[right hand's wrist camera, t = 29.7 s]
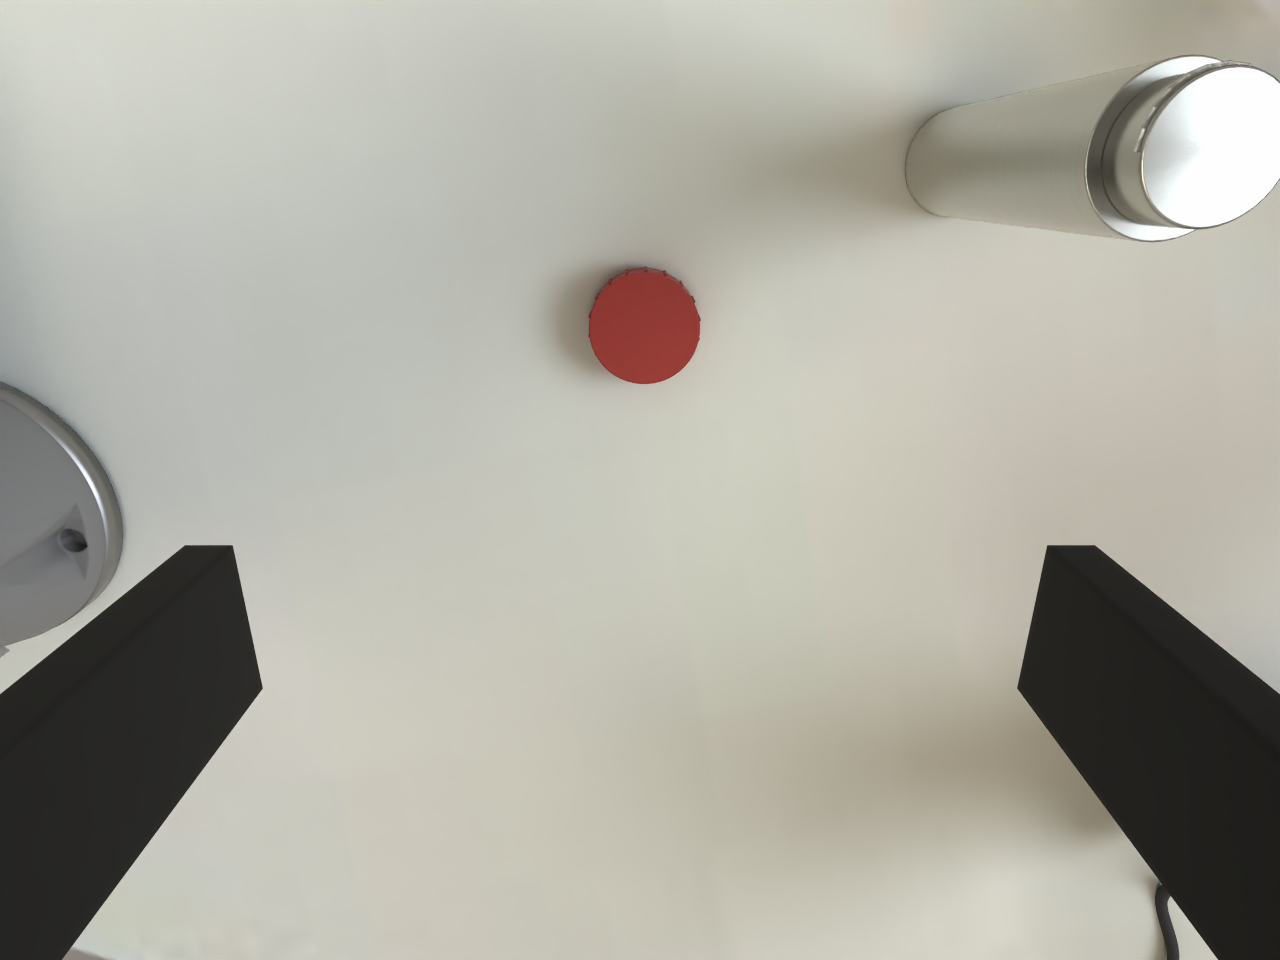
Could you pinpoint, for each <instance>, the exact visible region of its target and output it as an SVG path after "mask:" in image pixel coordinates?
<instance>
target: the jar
mask: <svg viewBox="0 0 1280 960" xmlns="http://www.w3.org/2000/svg"><path fill="white" fill-rule="evenodd" d="M905 173H906V181H907V185H908V188H909V191H910V193H911V195H912V197H913V198H914V199H915V201H916V202H917V203H918V204H919V205H920V206H921V207H922V208H923V209H925V210H926V211H928V212H930V213H932V214H934V215H937V216H942V217H949V218H957V219H965V220H973V221H981V222H989V223H997V224H1005V225H1013V226H1021V227H1029V228H1037V229H1045V230H1053V231H1061V232H1069V233H1077V234H1085V235H1093V236H1101V237H1109V238H1117V239H1125V240H1133V241H1141V242H1160V241H1166V240H1171V239H1175V238H1178V237H1181V236H1184V235H1187V234H1189V233H1191V232H1193V231H1195V230H1200V229H1209V228H1214V227H1218V226H1221V225H1224V224H1227V223H1229V222H1231V221H1233V220H1235V219H1237V218H1239V217H1241V216H1242V215H1244V214H1246V213H1247V212H1249V211H1250V210H1251V209H1253V208H1254V207H1255V206H1256V205H1258V204H1259V203H1260V202H1261V201H1262V200H1263V199H1264V198H1265V197H1266V196H1267V195H1268V194H1269V192H1270V191H1271V190H1272V189H1273V188H1274V186H1275V185H1276V183H1277V182H1278V181H1279V179H1280V82H1279V81H1278V80H1277V79H1276V78H1275V77H1274V76H1272V75H1271V74H1269V73H1268V72H1266V71H1264V70H1262V69H1259V68H1257V67H1254V66H1252V65H1250V63H1242V62H1234V61H1231V60H1230V61H1221V60H1219V59H1216V58H1213V57H1208V56H1204V55H1185V56H1178V57H1173V58H1169V59H1165V60H1160V61H1156V62H1152V63H1147V64H1143V65H1138V66H1134V67H1130V68H1125V69H1121V70H1116V71H1112V72H1108V73H1103V74H1099V75H1094V76H1090V77H1086V78H1081V79H1077V80H1072V81H1068V82H1064V83H1059V84H1055V85H1050V86H1046V87H1042V88H1037V89H1033V90H1029V91H1024V92H1020V93H1015V94H1011V95H1007V96H1002V97H998V98H993V99H989V100H985V101H980V102H976V103H971V104H967V105H963V106H958V107H954V108H950V109H947V110H944V111H942V112H940V113H938V114H937V115H935V116H934V117H932V118H931V119H930V120H929V121H927V122H926V123H925V124H924V125H923V126H922V128H921V129H920V130H919V131H918V133H917V134H916V136H915V137H914V139H913V141H912V143H911V145H910V148H909V151H908V154H907V158H906V167H905Z"/></svg>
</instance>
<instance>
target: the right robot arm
mask: <svg viewBox="0 0 1280 960" xmlns="http://www.w3.org/2000/svg"><path fill="white" fill-rule="evenodd" d="M122 539H123V532H122V520H121V513H120V509H119V505H118V501H117V498H116V495H115V492H114V490H113V487H112V485H111V483H110V481H109V478H108V476H107V474H106V473H105V471H104V469H103V467H102V466H101V464H100V462H99V461H98V459H97V458H96V457H95V455H94V454H93V452H92V451H91V449H90V448H89V447H88V446H87V445H86V443H85V442H84V441H83V440H82V439H81V437H80V436H79V435H78V434H77V433H76V432H75V431H74V430H73V429H72V428H71V427H70V426H69V425H68V424H67V423H65V422H64V421H63V420H62V419H61V418H60V417H59V416H57V415H56V414H55V413H53V412H52V411H51V410H50V409H48V408H47V407H46V406H44V405H43V404H41V403H40V402H38V401H36V400H35V399H33V398H32V397H30V396H28V395H26V394H25V393H23V392H21V391H19V390H17V389H15V388H13V387H11V386H9V385H6V384H4V383H2V382H0V657H2V656H3V655H4V654H6V653H7V652H8V651H10V650H9V649H7V648H5V647H4V646H7V645H10V644H13V643H16V642H19V641H22V640H25V639H29V638H32V637H34V636H37V635H40V634H42V633H44V632H46V631H48V630H50V629H52V628H54V627H57V626H58V625H60V624H62V623H64V622H66V621H67V620H69V619H70V618H72V617H73V616H74V615H76V614H77V613H78V612H80V611H81V610H82V609H84V608H85V607H86V606H88V605H89V604H90V603H91V602H92V601H94V600H95V599H96V598H97V597H98V596H99V595H100V594H101V593H102V591H103V590H104V589H105V588H106V587H107V585H108V583H109V582H110V580H111V579H112V577H113V575H114V573H115V571H116V568H117V565H118V562H119V559H120V555H121V549H122ZM262 689H263V687H262V683H261V678H260V673H259V668H258V664H257V659H256V654H255V649H254V645H253V640H252V635H251V630H250V626H249V621H248V616H247V611H246V607H245V602H244V597H243V592H242V588H241V583H240V578H239V573H238V569H237V564H236V559H235V554H234V550H233V545H185V546H184V547H183V548H181V549H180V550H179V551H178V552H176V553H175V554H174V555H173V556H171V557H170V558H169V559H168V560H166V561H165V562H164V563H163V564H161V565H160V566H159V567H158V568H156V569H155V570H154V571H153V572H151V573H150V574H149V575H148V576H147V577H145V578H144V579H143V580H142V581H140V582H139V583H138V584H137V585H135V586H134V587H133V588H132V589H130V590H129V591H128V592H127V593H125V594H124V595H123V596H122V597H120V598H119V599H118V600H117V601H115V602H114V603H113V604H112V605H111V606H109V607H108V608H107V609H106V610H104V611H103V612H102V613H101V614H99V615H98V616H97V617H96V618H94V619H93V620H92V621H91V622H89V623H88V624H87V625H86V626H84V627H83V628H82V629H81V630H79V631H78V632H77V633H76V634H75V635H73V636H72V637H71V638H70V639H68V640H67V641H66V642H65V643H63V644H62V645H61V646H60V647H58V648H57V649H56V650H55V651H53V652H52V653H51V654H50V655H48V656H47V657H46V658H45V659H43V660H42V661H41V662H40V663H39V664H37V665H36V666H35V667H34V668H32V669H31V670H30V671H29V672H27V673H26V674H25V675H24V676H22V677H21V678H20V679H19V680H17V681H16V682H15V683H14V684H12V685H11V686H10V687H9V688H7V689H6V690H5V691H4V692H3V693H1V694H0V960H62V959H63V957H64V956H65V955H66V953H67V952H68V951H69V949H70V948H71V947H72V945H73V944H74V943H75V941H76V940H77V938H78V937H79V936H80V934H81V933H82V932H83V930H84V929H85V928H86V926H87V925H88V924H89V922H90V921H91V920H92V918H93V917H94V916H95V914H96V913H97V911H98V910H99V909H100V907H101V906H102V905H103V903H104V902H105V901H106V899H107V898H108V897H109V895H110V894H111V893H112V891H113V890H114V889H115V887H116V886H117V884H118V883H119V882H120V880H121V879H122V878H123V876H124V875H125V874H126V872H127V871H128V870H129V868H130V867H131V866H132V864H133V863H134V862H135V860H136V859H137V857H138V856H139V855H140V853H141V852H142V851H143V849H144V848H145V847H146V845H147V844H148V843H149V841H150V840H151V839H152V837H153V836H154V835H155V833H156V832H157V830H158V829H159V828H160V826H161V825H162V824H163V822H164V821H165V820H166V818H167V817H168V816H169V814H170V813H171V812H172V810H173V809H174V807H175V806H176V805H177V803H178V802H179V801H180V799H181V798H182V797H183V795H184V794H185V793H186V791H187V790H188V789H189V787H190V786H191V785H192V783H193V782H194V780H195V779H196V778H197V776H198V775H199V774H200V772H201V771H202V770H203V768H204V767H205V766H206V764H207V763H208V762H209V760H210V759H211V758H212V756H213V755H214V753H215V752H216V751H217V749H218V748H219V747H220V745H221V744H222V743H223V741H224V740H225V739H226V737H227V736H228V735H229V733H230V732H231V731H232V729H233V728H234V726H235V725H236V724H237V722H238V721H239V720H240V718H241V717H242V716H243V714H244V713H245V712H246V710H247V709H248V708H249V706H250V705H251V704H252V702H253V701H254V699H255V698H256V697H257V695H258V694H259V693H260V691H261V690H262ZM1017 689H1018V690H1019V691H1020V693H1021V694H1022V695H1023V697H1024V698H1025V699H1026V701H1027V702H1028V704H1029V705H1030V706H1031V708H1032V709H1033V710H1034V712H1035V713H1036V714H1037V716H1038V717H1039V718H1040V720H1041V721H1042V722H1043V724H1044V725H1045V726H1046V728H1047V729H1048V731H1049V732H1050V733H1051V735H1052V736H1053V737H1054V739H1055V740H1056V741H1057V743H1058V744H1059V745H1060V747H1061V748H1062V749H1063V751H1064V752H1065V753H1066V755H1067V756H1068V758H1069V759H1070V760H1071V762H1072V763H1073V764H1074V766H1075V767H1076V768H1077V770H1078V771H1079V772H1080V774H1081V775H1082V776H1083V778H1084V779H1085V780H1086V782H1087V783H1088V785H1089V786H1090V787H1091V789H1092V790H1093V791H1094V793H1095V794H1096V795H1097V797H1098V798H1099V799H1100V801H1101V802H1102V803H1103V805H1104V806H1105V808H1106V809H1107V810H1108V812H1109V813H1110V814H1111V816H1112V817H1113V818H1114V820H1115V821H1116V822H1117V824H1118V825H1119V826H1120V828H1121V829H1122V830H1123V832H1124V833H1125V835H1126V836H1127V837H1128V839H1129V840H1130V841H1131V843H1132V844H1133V845H1134V847H1135V848H1136V849H1137V851H1138V852H1139V853H1140V855H1141V856H1142V857H1143V859H1144V860H1145V862H1146V863H1147V864H1148V866H1149V867H1150V868H1151V870H1152V871H1153V872H1154V874H1155V875H1156V876H1157V878H1158V879H1159V880H1160V882H1161V883H1162V884H1163V886H1164V887H1165V889H1166V890H1167V891H1168V893H1169V894H1170V895H1171V897H1172V898H1173V899H1174V901H1175V902H1176V903H1177V905H1178V906H1179V907H1180V909H1181V910H1182V911H1183V913H1184V914H1185V916H1186V917H1187V918H1188V920H1189V921H1190V922H1191V924H1192V925H1193V926H1194V928H1195V929H1196V930H1197V932H1198V933H1199V934H1200V936H1201V937H1202V938H1203V940H1204V941H1205V943H1206V944H1207V945H1208V947H1209V948H1210V949H1211V951H1212V952H1213V953H1214V955H1215V956H1216V957H1217V959H1218V960H1280V694H1279V693H1277V692H1276V691H1275V690H1274V689H1273V688H1271V687H1270V686H1269V685H1268V684H1266V683H1265V682H1264V681H1263V680H1261V679H1260V678H1259V677H1258V676H1256V675H1255V674H1254V673H1253V672H1251V671H1250V670H1249V669H1248V668H1246V667H1245V666H1244V665H1243V664H1241V663H1240V662H1239V661H1238V660H1237V659H1235V658H1234V657H1233V656H1232V655H1230V654H1229V653H1228V652H1227V651H1225V650H1224V649H1223V648H1222V647H1220V646H1219V645H1218V644H1217V643H1215V642H1214V641H1213V640H1212V639H1210V638H1209V637H1208V636H1207V635H1205V634H1204V633H1203V632H1202V631H1201V630H1199V629H1198V628H1197V627H1196V626H1194V625H1193V624H1192V623H1191V622H1189V621H1188V620H1187V619H1186V618H1184V617H1183V616H1182V615H1181V614H1179V613H1178V612H1177V611H1176V610H1174V609H1173V608H1172V607H1171V606H1169V605H1168V604H1167V603H1166V602H1165V601H1163V600H1162V599H1161V598H1160V597H1158V596H1157V595H1156V594H1155V593H1153V592H1152V591H1151V590H1150V589H1148V588H1147V587H1146V586H1145V585H1143V584H1142V583H1141V582H1140V581H1138V580H1137V579H1136V578H1135V577H1133V576H1132V575H1131V574H1130V573H1129V572H1127V571H1126V570H1125V569H1124V568H1122V567H1121V566H1120V565H1119V564H1117V563H1116V562H1115V561H1114V560H1112V559H1111V558H1110V557H1109V556H1107V555H1106V554H1105V553H1104V552H1102V551H1101V550H1100V549H1099V548H1097V547H1096V546H1095V545H1047V550H1046V554H1045V559H1044V564H1043V569H1042V573H1041V578H1040V583H1039V588H1038V592H1037V597H1036V602H1035V607H1034V611H1033V616H1032V621H1031V626H1030V630H1029V635H1028V640H1027V645H1026V649H1025V654H1024V659H1023V664H1022V668H1021V673H1020V678H1019V683H1018V687H1017Z"/></svg>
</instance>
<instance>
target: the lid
mask: <svg viewBox="0 0 1280 960" xmlns="http://www.w3.org/2000/svg"><path fill="white" fill-rule="evenodd" d="M595 299H596V301H595V304H594V306H593V309H592V311H591V312H590V314H589V318H590V321H589V337H590V341H591V345H592V348H593V350H594V353H595V355H596V356H597V358H598V360H599V361H600V362H601V364H602V365H603V366H604V367H605V368H606V369H607V370H608V371H609V372H611V373H612V374H613V375H615V376H617V377H619V378H620V379H623V380H625V381H628V382H632V383H638V384H651V383H657V382H661V381H663V380H666V379H668V378H670V377H672V376H674V375H675V374H677V373H678V372H679V371H680V370H682V369H683V368H684V367H685V366H686V364H687V363H688V362H689V361H690V359H691V358H692V356H693V354H694V352H695V350H696V347H697V344H698V341H699V339H700V338H699V335H700V322H699V321H701V320H700V317H699V315H698V312H697V309H696V307H695V304H694V302H695V300H694V298H693V296H690V294H689V292H688V291H687V290H686V288H685V287H684V286H683V283H682V281H678V280H677V279H675V278H674V277H672V276H671V275H669V274H667V273H666V271H659V270H656V269H649V268H647V267H645V268H640V269H633V270H629V271H628V269H627V270H626V272H624V273H621V274H620V275H618V276H616V277H614V278H613V279H609V282H608V283H607V284H606V285H605V286H604V288H603V289H602V290H601V292H600V293H597V295H596V298H595Z"/></svg>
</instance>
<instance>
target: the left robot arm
mask: <svg viewBox="0 0 1280 960" xmlns="http://www.w3.org/2000/svg"><path fill="white" fill-rule="evenodd" d="M1170 896H1171V895H1170V894H1169V893H1168V891H1167V890H1166V889H1165V887H1164V886H1163V885H1162V886H1161V887H1160V888H1159V889H1158V891H1157V894H1156V898H1155V904H1156V910H1157V915H1158V919H1159V922H1160V925H1161V928H1162V931H1163V935H1164V938H1165V943H1166V948H1167V960H1179V949H1178V943H1177V939H1176V935H1175V932H1174V929H1173V926H1172V922H1171V919H1170V916H1169V912H1168V906H1167V902H1168V899H1169V897H1170Z"/></svg>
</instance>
